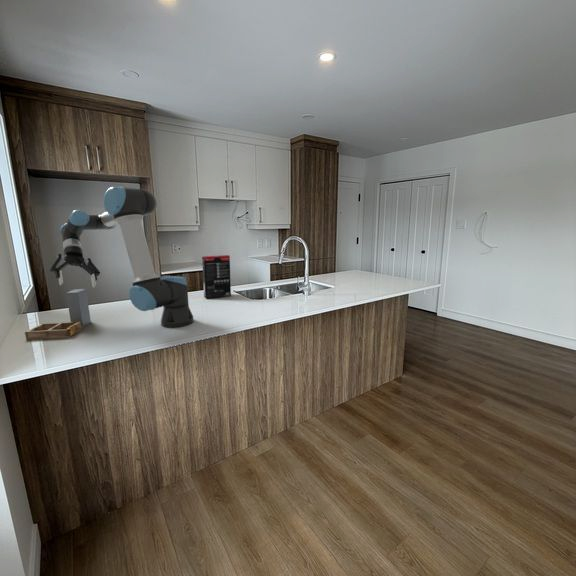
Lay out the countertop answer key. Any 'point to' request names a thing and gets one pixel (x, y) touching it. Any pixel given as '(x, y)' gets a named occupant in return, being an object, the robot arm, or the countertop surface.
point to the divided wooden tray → (54, 330)
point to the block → (78, 306)
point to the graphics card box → (216, 276)
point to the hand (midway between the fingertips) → (78, 284)
